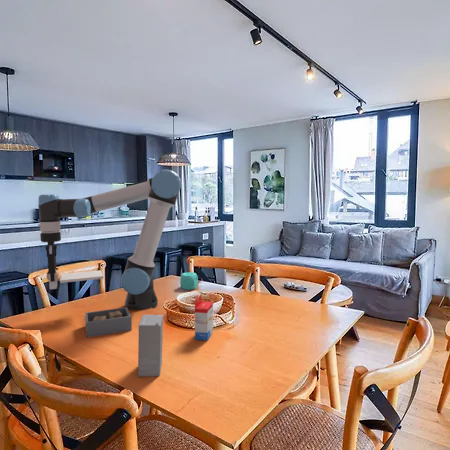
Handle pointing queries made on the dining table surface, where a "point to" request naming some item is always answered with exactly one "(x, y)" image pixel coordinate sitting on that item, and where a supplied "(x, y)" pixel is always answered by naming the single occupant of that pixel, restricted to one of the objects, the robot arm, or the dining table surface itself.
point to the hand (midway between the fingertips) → (53, 287)
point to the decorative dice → (189, 281)
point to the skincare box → (150, 345)
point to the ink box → (203, 319)
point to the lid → (78, 276)
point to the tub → (107, 322)
